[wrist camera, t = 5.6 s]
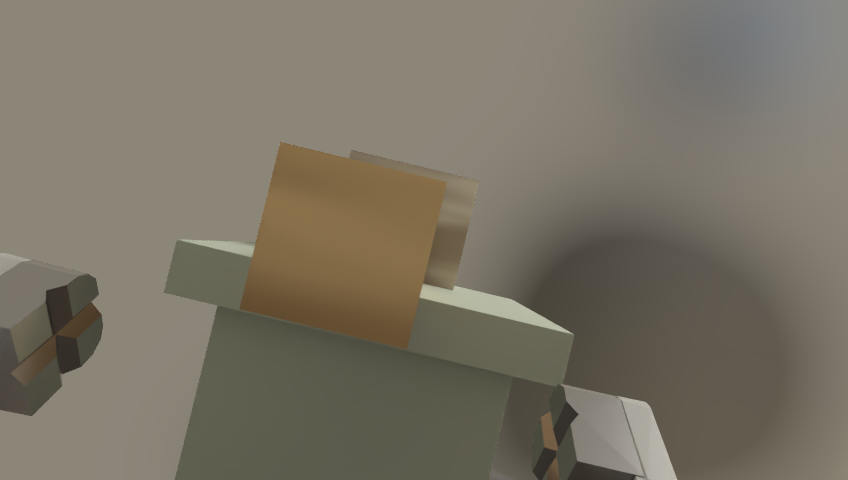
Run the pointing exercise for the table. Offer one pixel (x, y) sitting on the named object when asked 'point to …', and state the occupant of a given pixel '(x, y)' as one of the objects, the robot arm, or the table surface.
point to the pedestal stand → (353, 383)
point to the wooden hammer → (356, 242)
